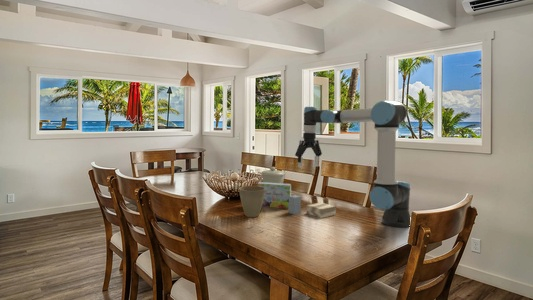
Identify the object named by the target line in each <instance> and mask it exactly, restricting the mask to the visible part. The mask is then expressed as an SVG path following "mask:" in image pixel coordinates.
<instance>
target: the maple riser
mask: <svg viewBox="0 0 533 300" xmlns="http://www.w3.org/2000/svg"><path fill="white" fill-rule="evenodd" d="M336 210H337V206H336V205H332V204H329V203H324V202H320V201H319V202H316V203H310V204H307V205H306V214H307V215H310V216H314V217H318V218H321V219H323V218H327V217H331V216H332V217H333V216H336V215H337V214H336V212H337V211H336Z"/></svg>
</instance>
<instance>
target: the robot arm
mask: <svg viewBox="0 0 533 300" xmlns="http://www.w3.org/2000/svg"><path fill="white" fill-rule="evenodd" d="M407 114H408V110H407V108H406V106H405V105H404V104H403V103H402V102H398V101H391V100H382V101H378V102H376V103H375V104H374V105H373V107H371V108H369V107H368V108H357V109H356V108H355V109H354V108H353V109H344V110H331V109H317V106H305V107H304V110H303V130H302V131H303V133H302V138H303V140H299V142H298V143H299V144H298V147H297V150H295V151H296V152H295V154H294V156H295V157H297V163H298V165H297V166H298V168H299V169H303V157H302V156H303V155H304V153H305V152H306V150H307V149H311V150H312V151H313V153H314V154H315V155H314V164H313V165H314V167H319V161H320V157H321V156H322V154H323V152H322V149H321V146H320V140H319V139H316V135H317V134H316V133H317V124H347V123H349V124H350V123H374V129H375V131H377V132H376V133H377V141H376V142H377V145H376V146H377V147H376V149H377V151H376V153H377V155H376V157H377V158H376V160H377V161H376V179H375V180H374V181H373V188H372V189H371V190H370V192H369V200H370V202H371V204H372V205H373V206H374V207H375V208H376V209H378V210H384V212H383V213H382V217H381V223H382V224H384V225H386V226H388V227H393V226H394V227H396V228H408V227H407V226H409V225H410V217H411V213H410V196H411V193H410V192H411V184H410V183H409V182H407V181H401V180H396V137H397V136H396V134H397V133H396V132H397V131H398V130H399V129H400V124H401V123H403V122H404V121H405V120H406V118H407V116H408V115H407ZM411 218H412V217H411ZM394 227H393V228H394Z"/></svg>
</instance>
